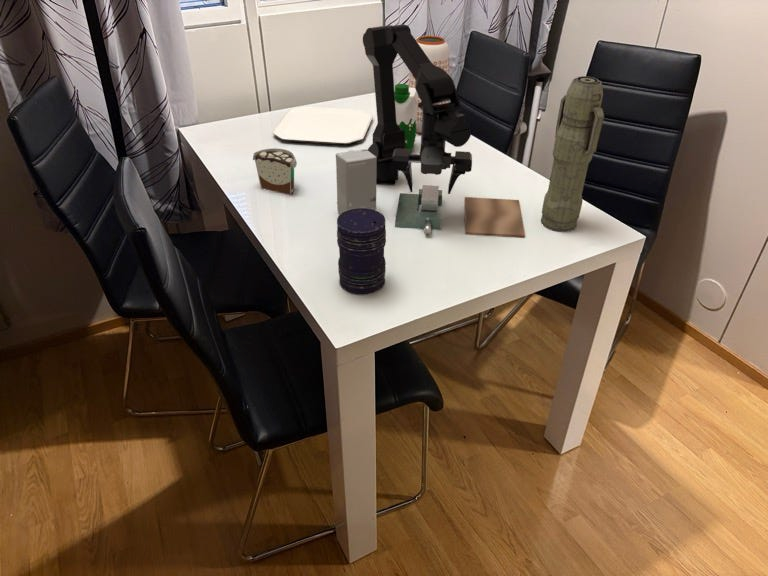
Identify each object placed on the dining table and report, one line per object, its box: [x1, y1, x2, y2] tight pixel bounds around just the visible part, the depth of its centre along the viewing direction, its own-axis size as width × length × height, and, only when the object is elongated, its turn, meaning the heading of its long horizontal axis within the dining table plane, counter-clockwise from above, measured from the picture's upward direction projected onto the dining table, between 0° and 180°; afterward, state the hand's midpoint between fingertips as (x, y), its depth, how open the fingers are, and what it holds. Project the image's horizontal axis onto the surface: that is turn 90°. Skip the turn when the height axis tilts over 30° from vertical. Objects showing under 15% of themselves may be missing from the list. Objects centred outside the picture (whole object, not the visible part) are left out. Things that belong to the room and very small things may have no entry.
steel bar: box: [420, 184, 440, 212], centre depth 152 cm, size 4×8×6 cm, turn 174°
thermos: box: [540, 75, 605, 233], centre depth 140 cm, size 9×12×35 cm
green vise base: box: [394, 188, 443, 236], centre depth 151 cm, size 11×19×3 cm, turn 174°
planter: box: [407, 35, 451, 135], centre depth 191 cm, size 13×13×28 cm
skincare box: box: [335, 148, 377, 215], centre depth 149 cm, size 8×7×16 cm
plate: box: [272, 106, 374, 145], centre depth 199 cm, size 29×29×2 cm
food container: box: [252, 147, 298, 197], centre depth 162 cm, size 12×6×10 cm, turn 65°
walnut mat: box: [464, 196, 526, 239], centre depth 152 cm, size 14×18×1 cm
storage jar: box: [336, 208, 387, 296], centre depth 125 cm, size 10×10×15 cm
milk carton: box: [394, 83, 418, 154], centre depth 180 cm, size 9×9×20 cm
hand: (430, 192), depth 150 cm, fingers open, 9 cm apart
